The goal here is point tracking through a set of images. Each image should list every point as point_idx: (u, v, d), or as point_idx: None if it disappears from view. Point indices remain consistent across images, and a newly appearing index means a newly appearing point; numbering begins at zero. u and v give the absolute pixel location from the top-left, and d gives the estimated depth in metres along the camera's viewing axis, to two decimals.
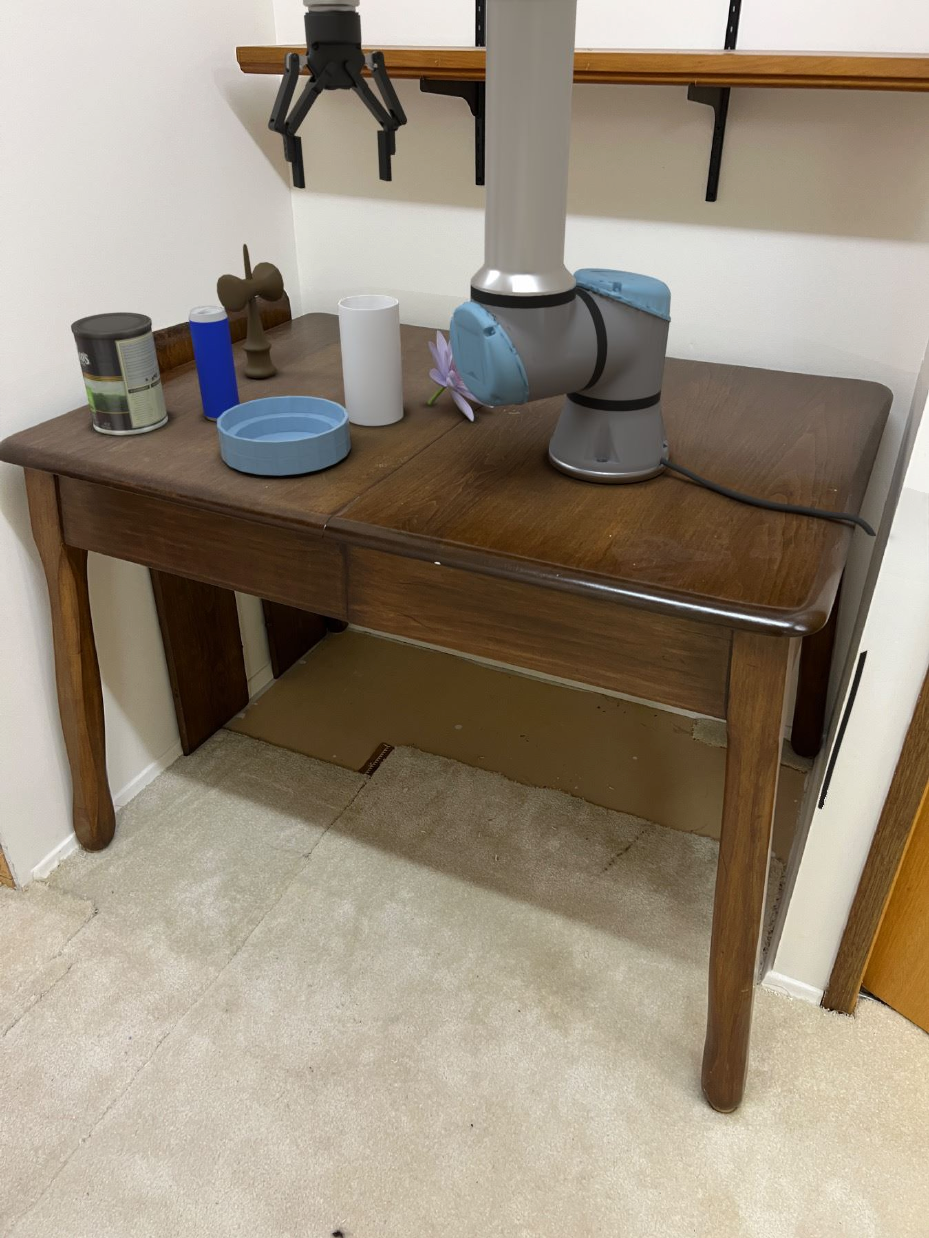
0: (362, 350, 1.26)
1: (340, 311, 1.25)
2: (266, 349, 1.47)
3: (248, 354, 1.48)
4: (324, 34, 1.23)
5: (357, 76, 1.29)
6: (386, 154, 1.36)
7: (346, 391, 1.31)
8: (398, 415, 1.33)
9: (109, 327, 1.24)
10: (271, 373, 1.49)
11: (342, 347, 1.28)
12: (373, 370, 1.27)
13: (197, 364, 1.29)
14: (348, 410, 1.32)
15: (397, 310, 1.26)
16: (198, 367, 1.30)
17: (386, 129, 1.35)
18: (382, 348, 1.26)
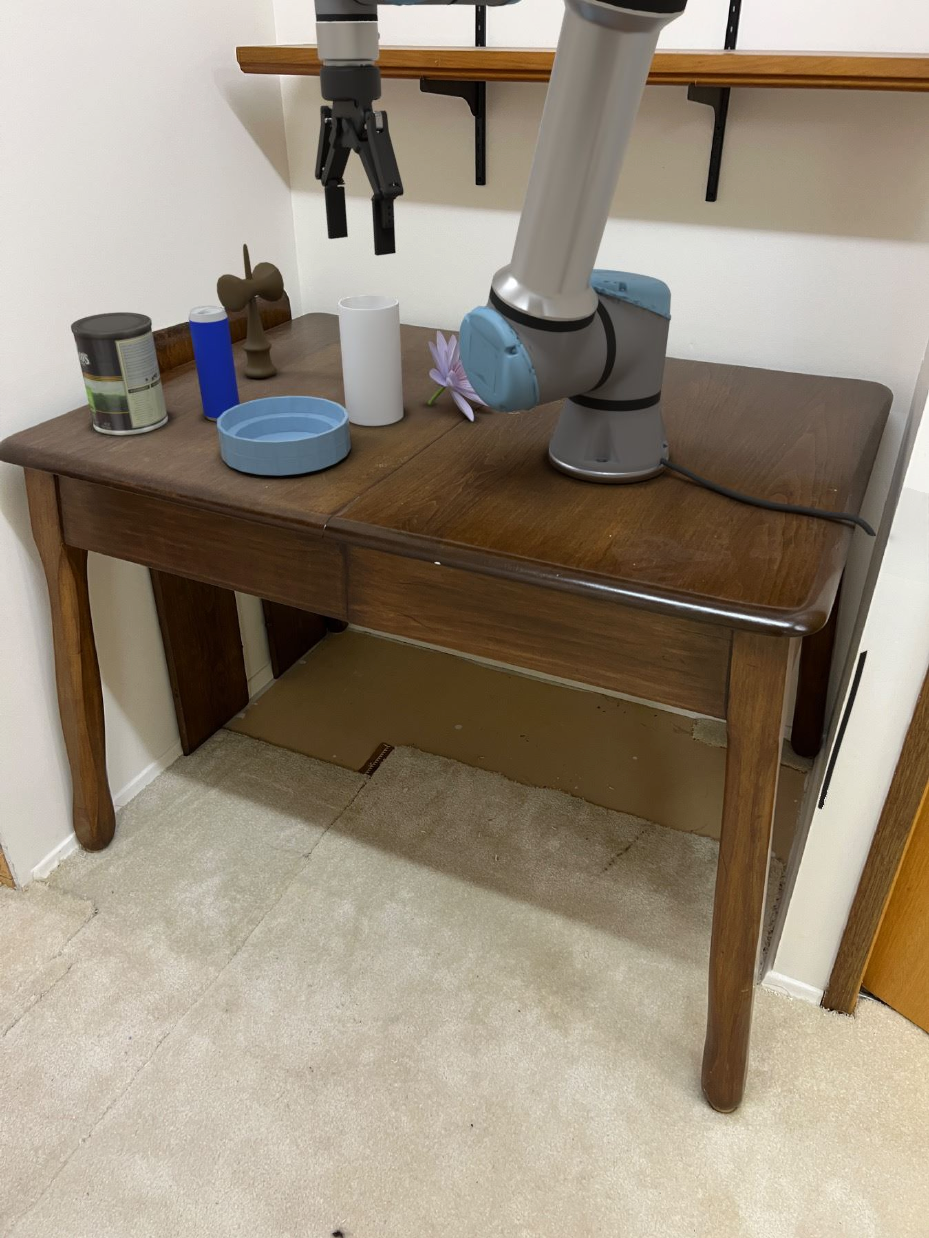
0: (362, 350, 1.26)
1: (340, 311, 1.25)
2: (266, 349, 1.47)
3: (248, 354, 1.48)
4: None
5: (350, 135, 1.17)
6: (374, 225, 1.20)
7: (346, 391, 1.31)
8: (398, 415, 1.33)
9: (109, 327, 1.24)
10: (271, 373, 1.49)
11: (342, 347, 1.28)
12: (373, 370, 1.27)
13: (197, 364, 1.29)
14: (348, 410, 1.32)
15: (397, 310, 1.26)
16: (198, 367, 1.30)
17: None
18: (382, 348, 1.26)
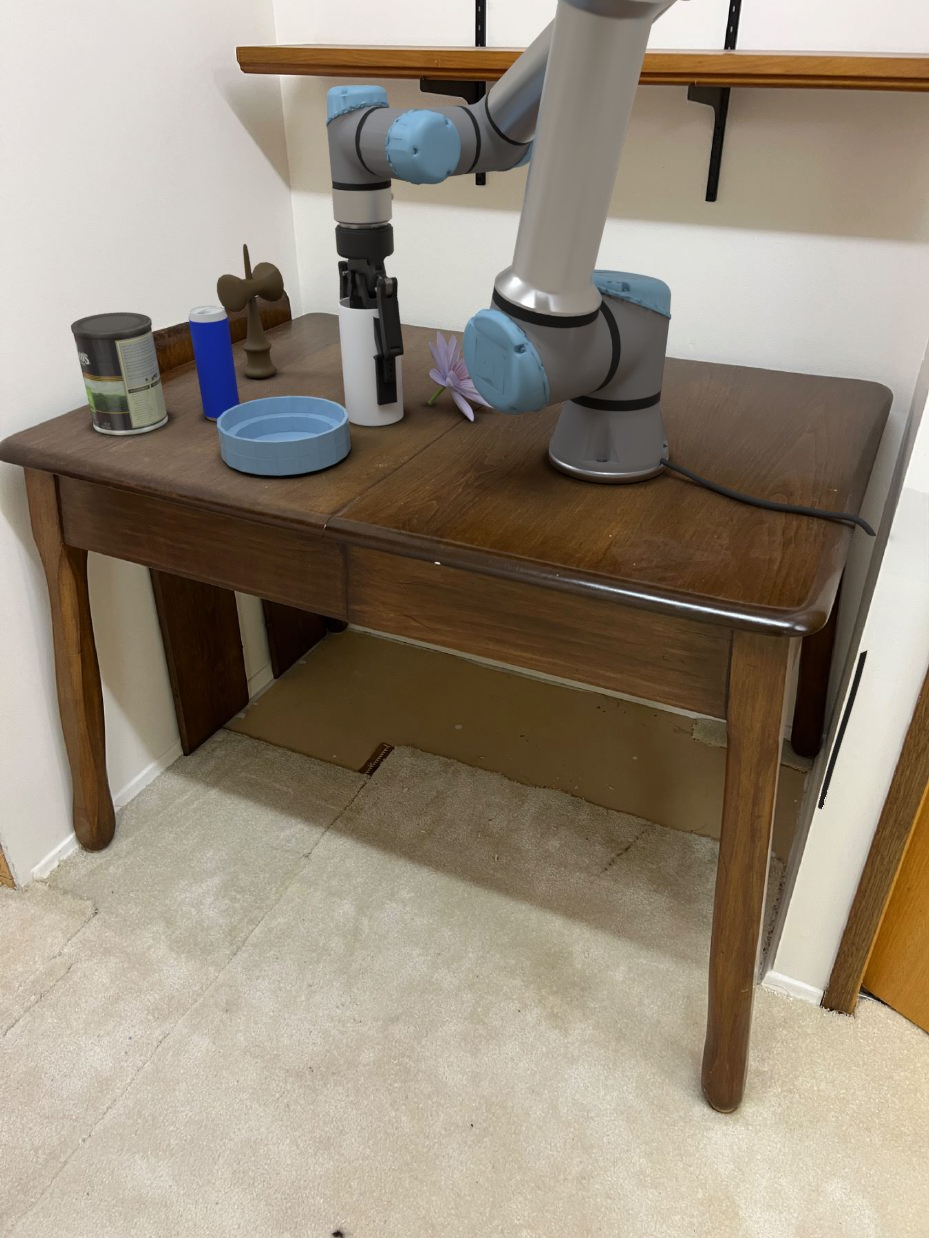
0: (362, 350, 1.26)
1: (340, 311, 1.25)
2: (266, 349, 1.47)
3: (248, 354, 1.48)
4: None
5: (363, 289, 1.23)
6: (376, 378, 1.28)
7: (346, 391, 1.31)
8: (398, 415, 1.33)
9: (109, 327, 1.24)
10: (271, 373, 1.49)
11: (342, 347, 1.28)
12: (373, 370, 1.27)
13: (197, 364, 1.29)
14: (348, 410, 1.32)
15: None
16: (198, 367, 1.30)
17: None
18: None
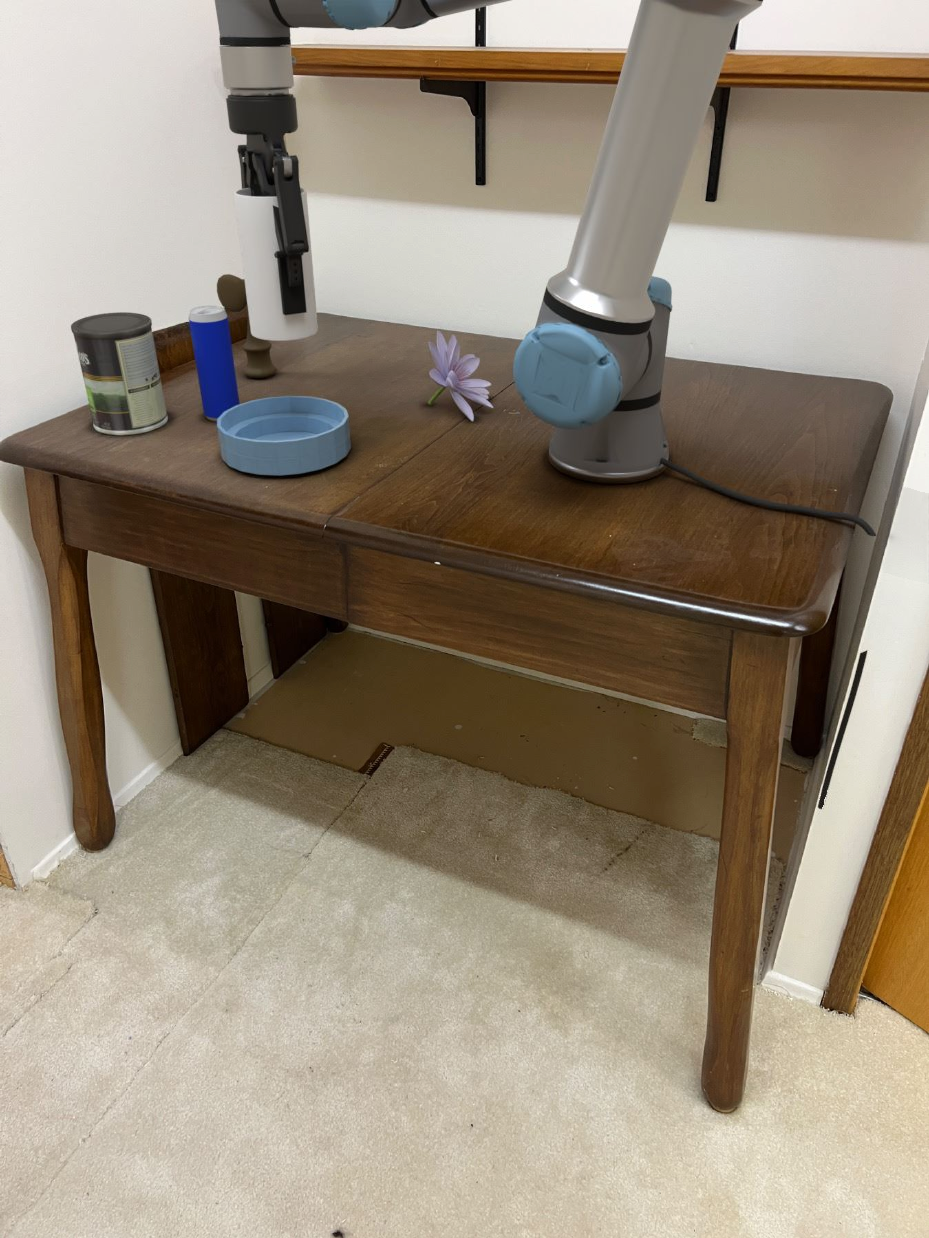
0: (262, 247, 1.07)
1: (236, 201, 1.07)
2: (266, 349, 1.47)
3: (248, 354, 1.48)
4: None
5: (260, 173, 1.04)
6: (280, 282, 1.09)
7: (248, 299, 1.12)
8: (310, 329, 1.14)
9: (109, 327, 1.24)
10: (271, 373, 1.49)
11: (241, 245, 1.09)
12: (276, 272, 1.09)
13: (197, 364, 1.29)
14: (251, 323, 1.14)
15: (303, 201, 1.07)
16: (198, 367, 1.30)
17: None
18: None
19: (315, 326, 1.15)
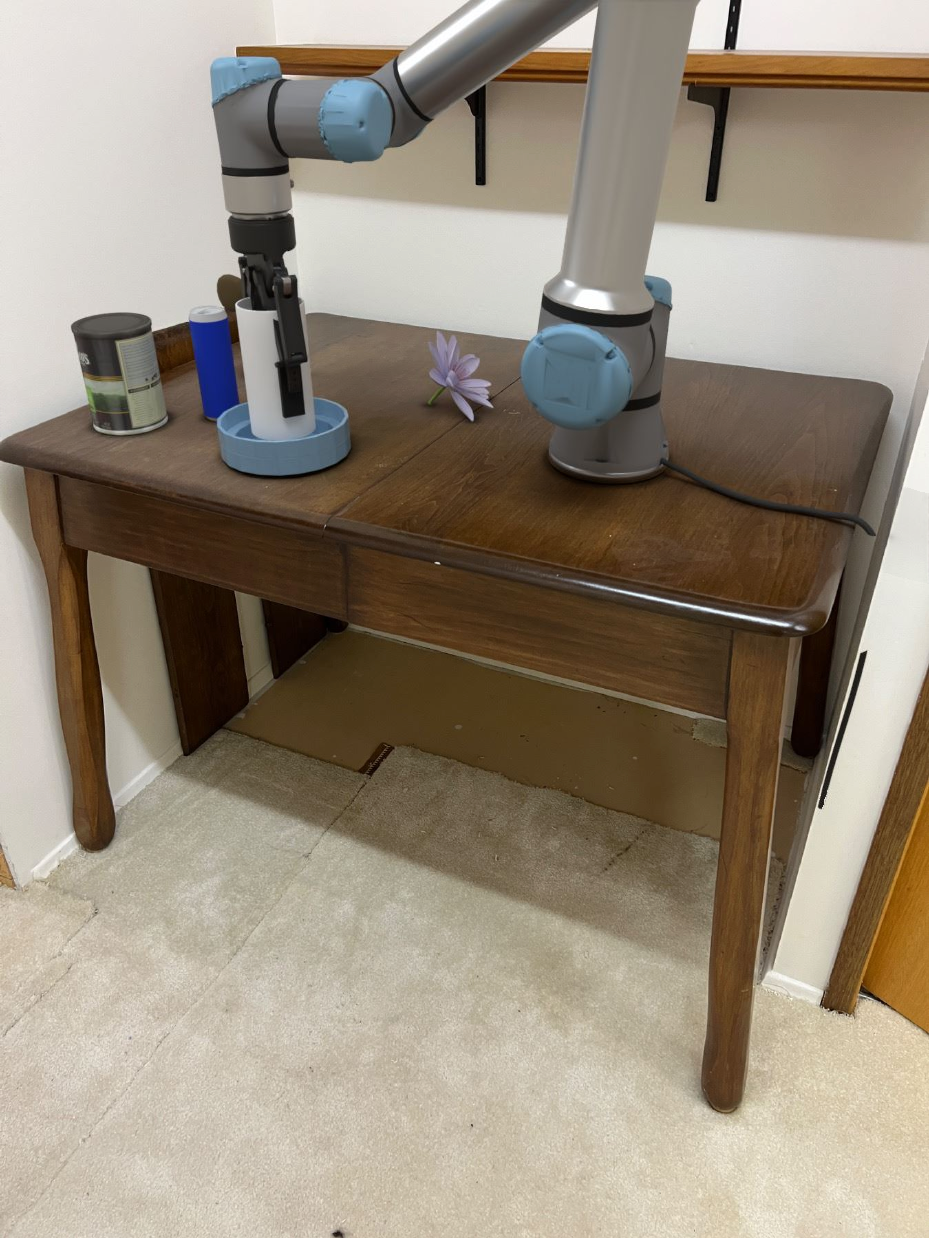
0: (262, 356, 1.12)
1: (237, 313, 1.12)
2: None
3: None
4: None
5: (261, 289, 1.09)
6: (280, 388, 1.14)
7: (249, 402, 1.17)
8: (308, 428, 1.19)
9: (109, 327, 1.24)
10: None
11: (242, 353, 1.14)
12: (276, 379, 1.14)
13: (197, 364, 1.29)
14: (252, 423, 1.19)
15: (302, 312, 1.12)
16: (198, 367, 1.30)
17: None
18: None
19: (313, 424, 1.20)
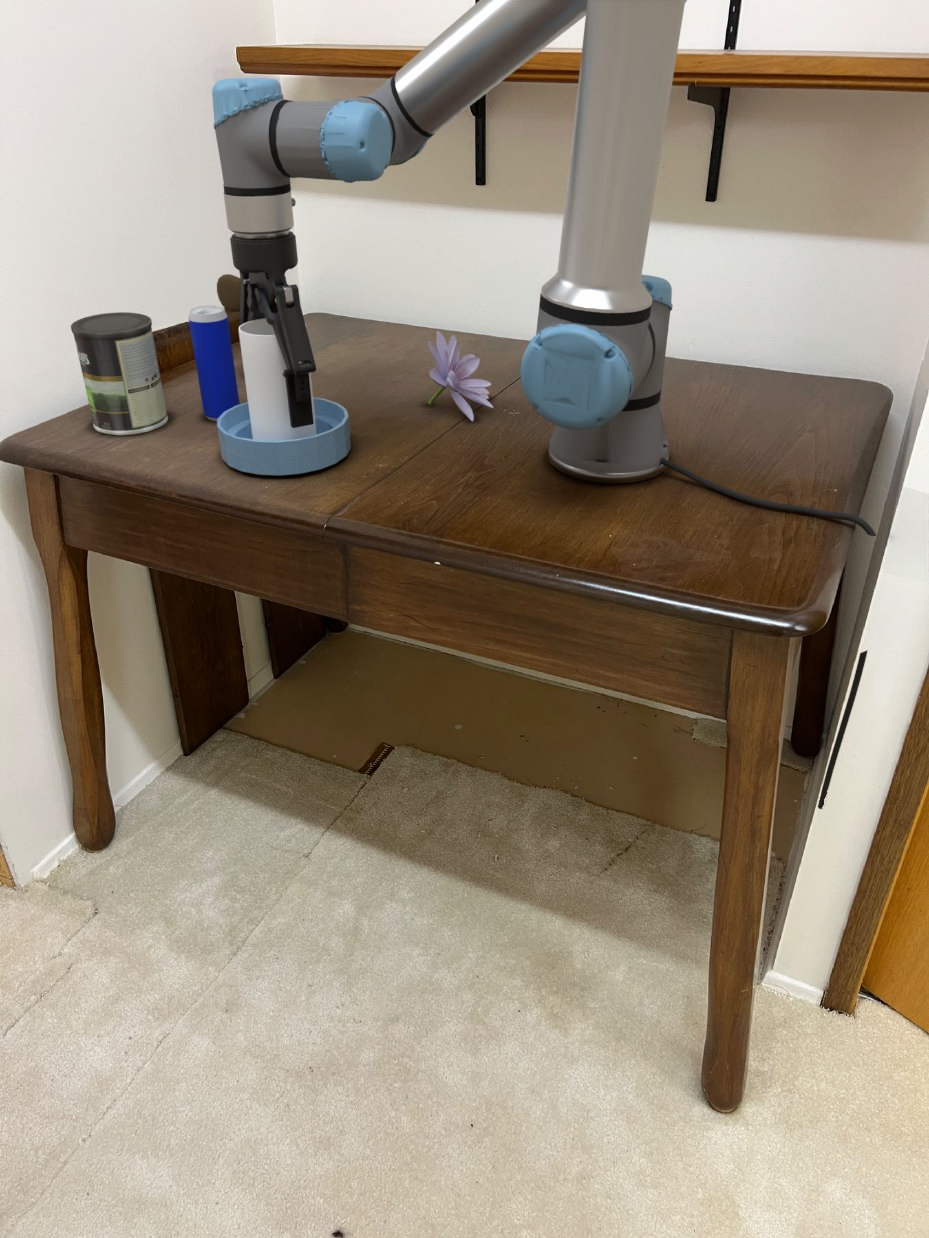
0: (265, 379, 1.14)
1: (240, 336, 1.13)
2: None
3: None
4: None
5: (263, 306, 1.10)
6: (288, 397, 1.13)
7: (252, 423, 1.19)
8: None
9: (109, 327, 1.24)
10: None
11: (245, 376, 1.16)
12: (278, 401, 1.15)
13: (197, 364, 1.29)
14: None
15: None
16: (198, 367, 1.30)
17: None
18: None
19: None
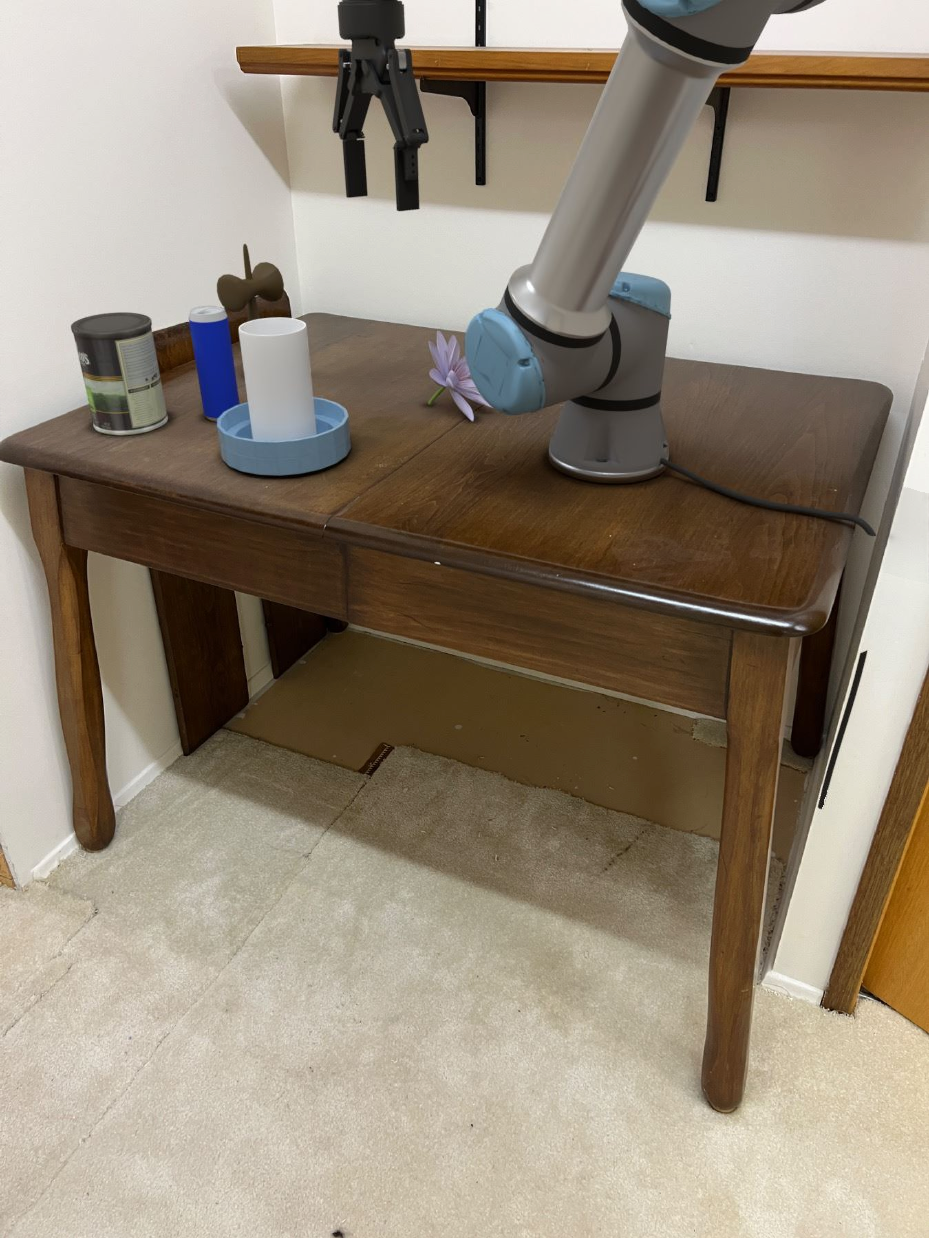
0: (265, 379, 1.14)
1: (240, 336, 1.13)
2: None
3: None
4: None
5: (371, 78, 1.07)
6: (396, 177, 1.09)
7: (252, 423, 1.19)
8: None
9: (109, 327, 1.24)
10: None
11: (245, 376, 1.16)
12: (278, 401, 1.15)
13: (197, 364, 1.29)
14: None
15: (304, 335, 1.14)
16: (198, 367, 1.30)
17: None
18: (287, 377, 1.14)
19: None
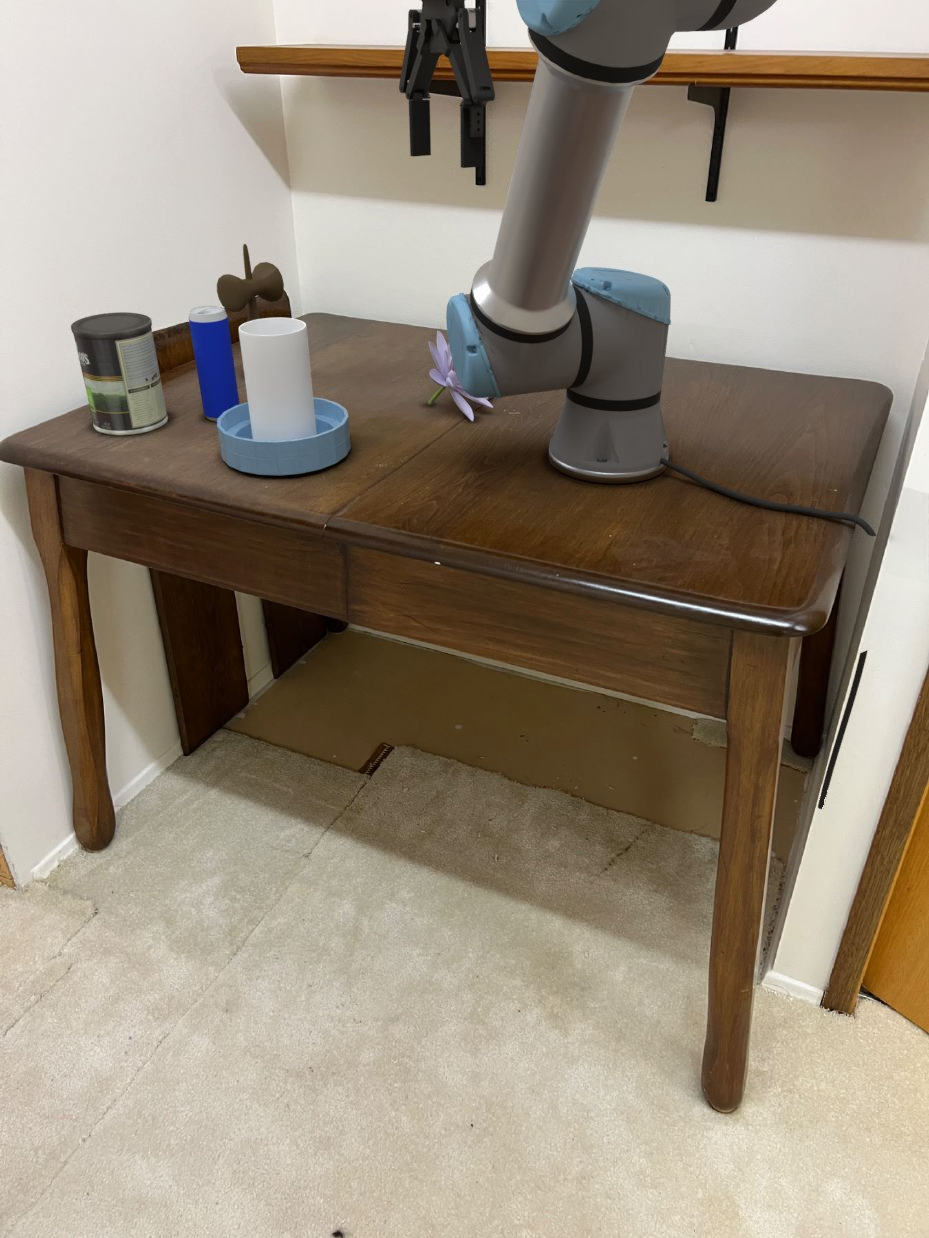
0: (265, 379, 1.14)
1: (240, 336, 1.13)
2: None
3: None
4: None
5: (440, 37, 1.11)
6: (461, 134, 1.13)
7: (252, 423, 1.19)
8: None
9: (109, 327, 1.24)
10: None
11: (245, 376, 1.16)
12: (278, 401, 1.15)
13: (197, 364, 1.29)
14: None
15: (304, 335, 1.14)
16: (198, 367, 1.30)
17: None
18: (287, 377, 1.14)
19: None
